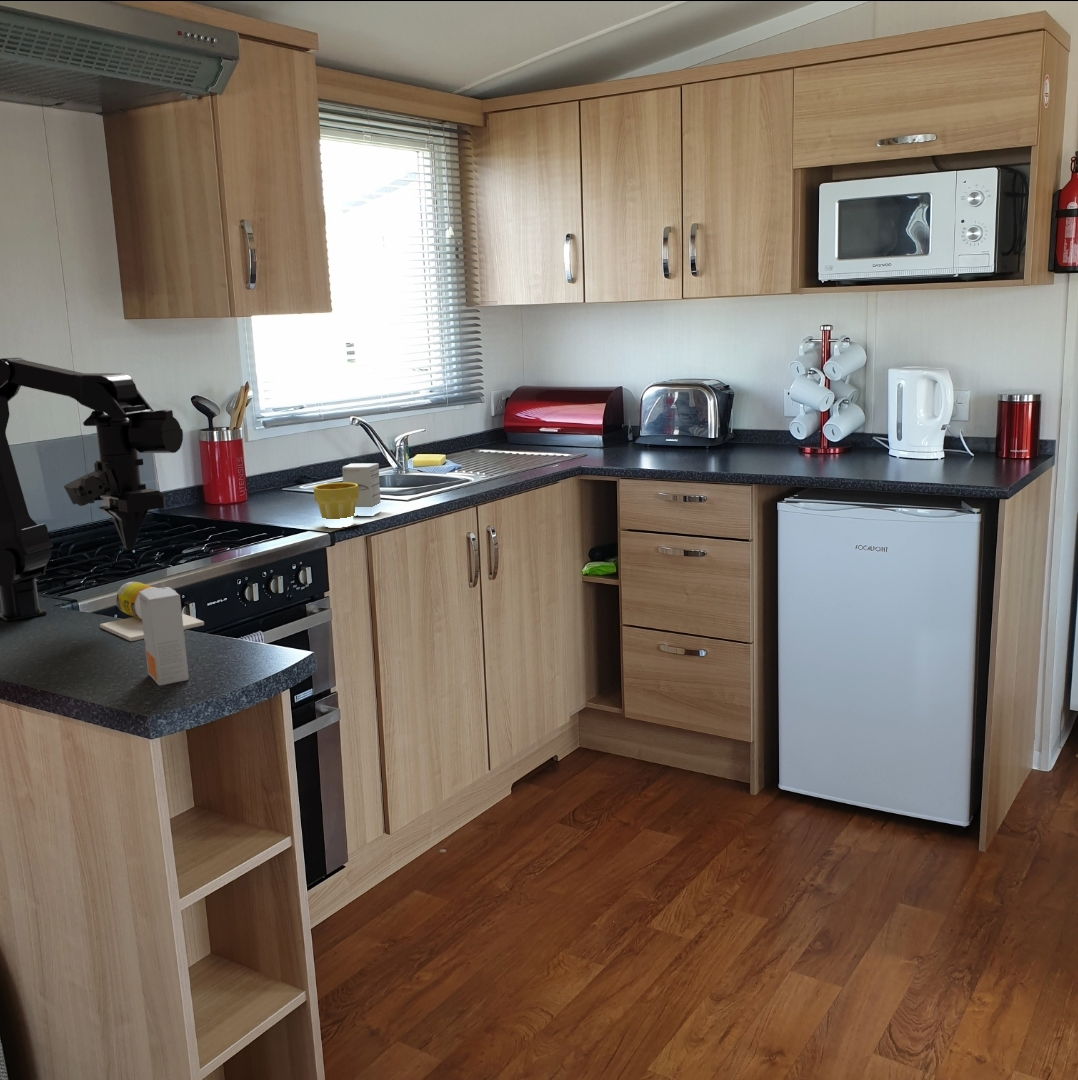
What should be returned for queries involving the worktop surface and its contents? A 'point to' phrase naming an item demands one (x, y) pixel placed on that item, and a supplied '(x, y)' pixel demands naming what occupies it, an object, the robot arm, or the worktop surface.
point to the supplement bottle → (131, 598)
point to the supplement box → (364, 482)
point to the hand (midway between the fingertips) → (129, 549)
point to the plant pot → (336, 499)
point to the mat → (141, 627)
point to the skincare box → (164, 635)
